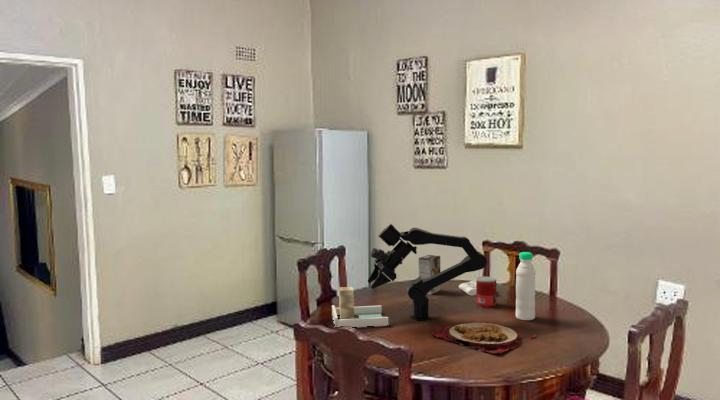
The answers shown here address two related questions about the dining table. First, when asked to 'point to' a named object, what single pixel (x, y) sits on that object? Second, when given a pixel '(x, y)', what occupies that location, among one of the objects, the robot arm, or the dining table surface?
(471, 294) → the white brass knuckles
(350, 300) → the beige cylinder
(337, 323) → the tray
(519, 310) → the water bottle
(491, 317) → the dining table surface
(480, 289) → the canned food
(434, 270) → the coffee box
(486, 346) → the plate with food
